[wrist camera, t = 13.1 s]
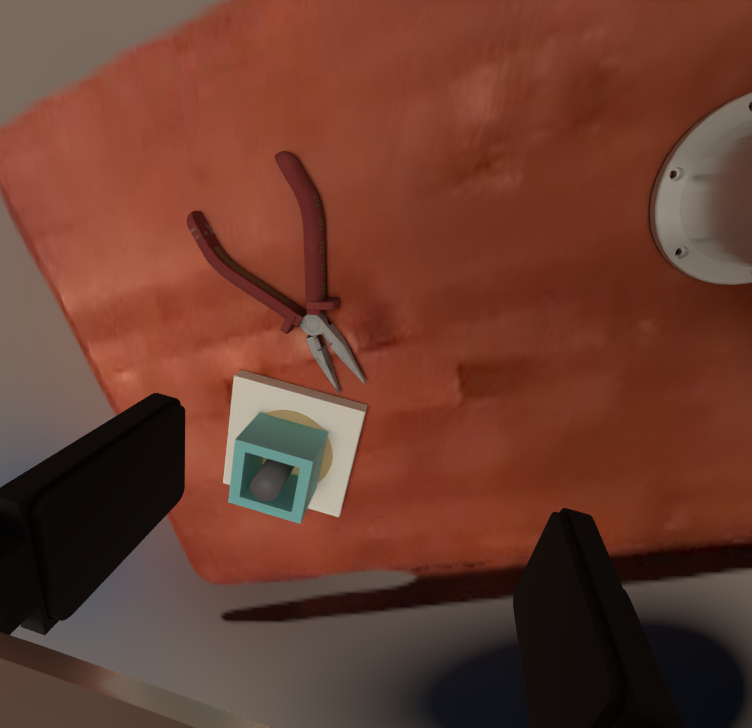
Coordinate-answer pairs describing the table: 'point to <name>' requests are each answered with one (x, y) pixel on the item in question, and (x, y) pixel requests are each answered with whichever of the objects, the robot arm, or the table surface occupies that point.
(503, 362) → the table surface
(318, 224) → the pliers
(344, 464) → the post stand
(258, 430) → the collar
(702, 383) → the table surface
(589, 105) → the table surface
